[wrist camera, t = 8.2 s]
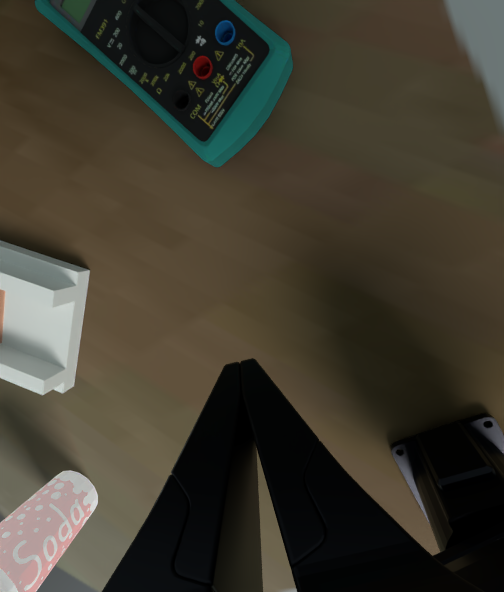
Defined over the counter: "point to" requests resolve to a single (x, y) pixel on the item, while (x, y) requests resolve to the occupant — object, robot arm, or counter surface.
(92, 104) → the counter surface
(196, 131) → the digital multimeter
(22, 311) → the knob mount
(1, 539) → the beverage cup
